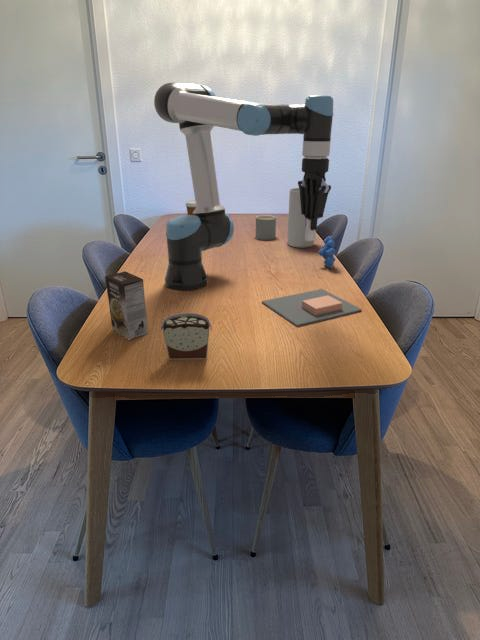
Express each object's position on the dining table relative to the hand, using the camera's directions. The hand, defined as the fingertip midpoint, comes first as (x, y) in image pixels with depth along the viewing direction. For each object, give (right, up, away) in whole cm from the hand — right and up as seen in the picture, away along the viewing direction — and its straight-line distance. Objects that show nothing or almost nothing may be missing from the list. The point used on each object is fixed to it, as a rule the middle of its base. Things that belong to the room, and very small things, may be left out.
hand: (310, 239), depth 132 cm
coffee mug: (-9, +17, +86) cm, 89 cm away
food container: (-34, -33, -22) cm, 52 cm away
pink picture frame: (+2, -18, +5) cm, 19 cm away
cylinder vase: (+7, +11, +72) cm, 74 cm away
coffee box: (-52, -28, -11) cm, 60 cm away
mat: (+1, -20, +5) cm, 21 cm away
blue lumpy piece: (+13, -3, +43) cm, 45 cm away
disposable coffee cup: (-47, +30, +113) cm, 126 cm away
